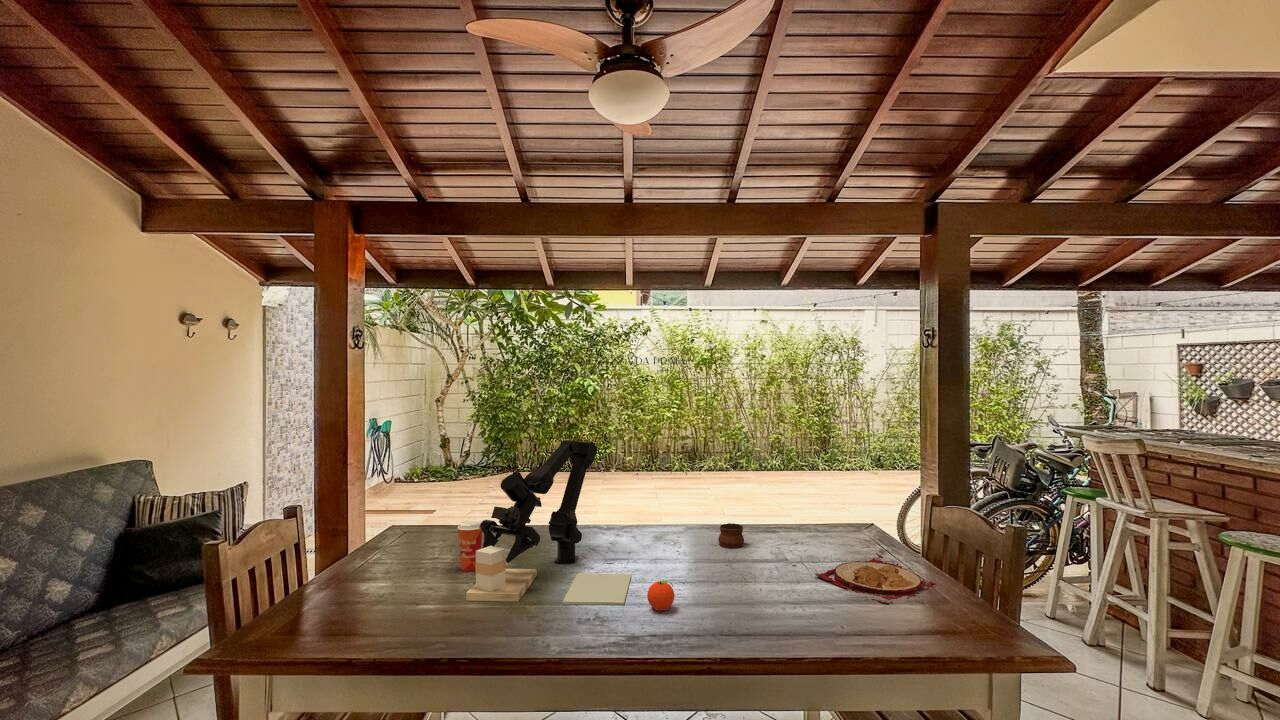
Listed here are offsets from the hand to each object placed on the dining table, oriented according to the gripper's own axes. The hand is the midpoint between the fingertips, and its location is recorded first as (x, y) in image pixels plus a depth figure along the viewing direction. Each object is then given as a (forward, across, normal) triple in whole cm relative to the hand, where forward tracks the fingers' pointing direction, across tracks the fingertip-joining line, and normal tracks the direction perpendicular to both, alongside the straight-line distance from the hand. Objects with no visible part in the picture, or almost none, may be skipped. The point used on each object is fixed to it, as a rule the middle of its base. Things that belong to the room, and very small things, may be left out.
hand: (494, 559), depth 168 cm
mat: (-5, +24, +18) cm, 30 cm away
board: (+4, 0, +9) cm, 10 cm away
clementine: (-2, +46, +15) cm, 48 cm away
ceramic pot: (-46, +39, +58) cm, 84 cm away
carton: (+6, 0, +4) cm, 7 cm away
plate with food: (-36, +90, +49) cm, 109 cm away
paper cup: (-2, -21, +15) cm, 26 cm away
